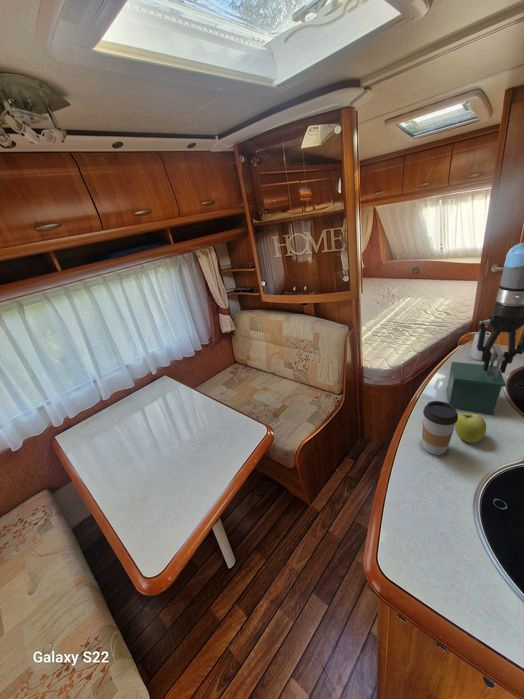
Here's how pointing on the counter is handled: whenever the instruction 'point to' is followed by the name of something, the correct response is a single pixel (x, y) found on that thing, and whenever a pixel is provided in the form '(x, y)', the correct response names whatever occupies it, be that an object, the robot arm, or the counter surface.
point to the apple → (470, 427)
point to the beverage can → (474, 351)
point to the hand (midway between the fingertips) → (493, 369)
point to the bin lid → (481, 370)
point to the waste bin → (472, 395)
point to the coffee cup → (438, 426)
